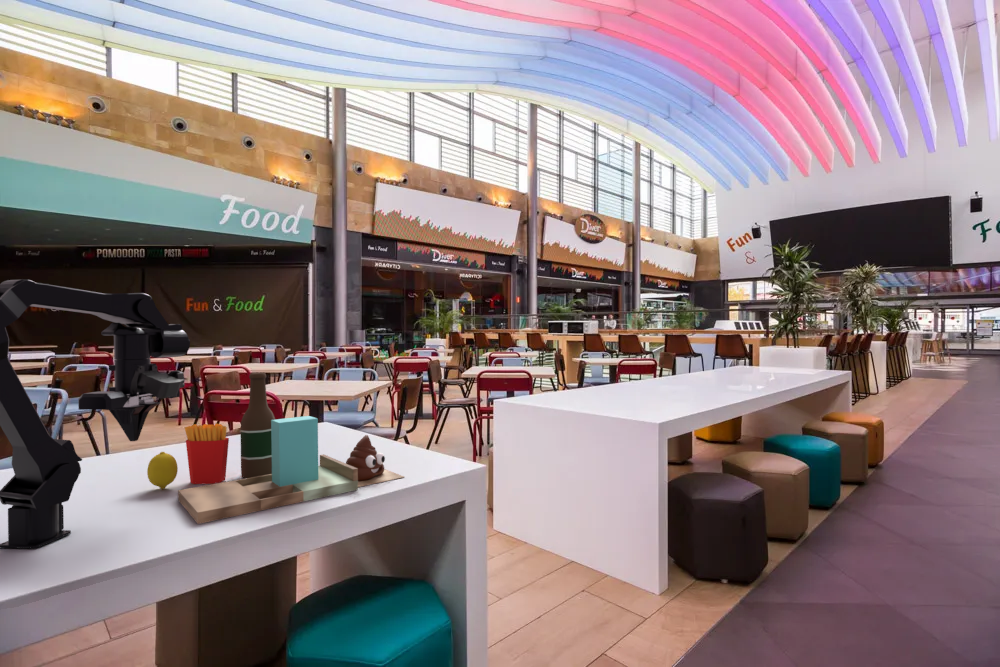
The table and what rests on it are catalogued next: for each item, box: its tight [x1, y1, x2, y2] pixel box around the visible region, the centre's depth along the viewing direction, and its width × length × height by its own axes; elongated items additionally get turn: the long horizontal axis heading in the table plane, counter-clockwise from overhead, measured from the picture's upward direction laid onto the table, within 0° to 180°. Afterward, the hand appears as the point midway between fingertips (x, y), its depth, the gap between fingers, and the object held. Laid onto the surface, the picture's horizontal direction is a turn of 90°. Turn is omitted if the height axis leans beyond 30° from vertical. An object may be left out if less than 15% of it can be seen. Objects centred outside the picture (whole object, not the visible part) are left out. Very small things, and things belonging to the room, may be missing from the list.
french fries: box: [184, 423, 230, 485], centre depth 121 cm, size 9×4×13 cm, turn 90°
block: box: [271, 415, 319, 487], centre depth 114 cm, size 8×5×13 cm, turn 130°
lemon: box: [146, 451, 179, 490], centre depth 116 cm, size 6×6×8 cm
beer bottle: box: [239, 372, 276, 479], centre depth 126 cm, size 8×8×24 cm
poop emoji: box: [345, 434, 386, 481], centre depth 123 cm, size 10×8×9 cm
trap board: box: [177, 454, 359, 525], centre depth 110 cm, size 30×18×4 cm, turn 130°
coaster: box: [358, 468, 405, 488], centre depth 123 cm, size 13×13×1 cm
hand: (133, 440), depth 102 cm, fingers closed
